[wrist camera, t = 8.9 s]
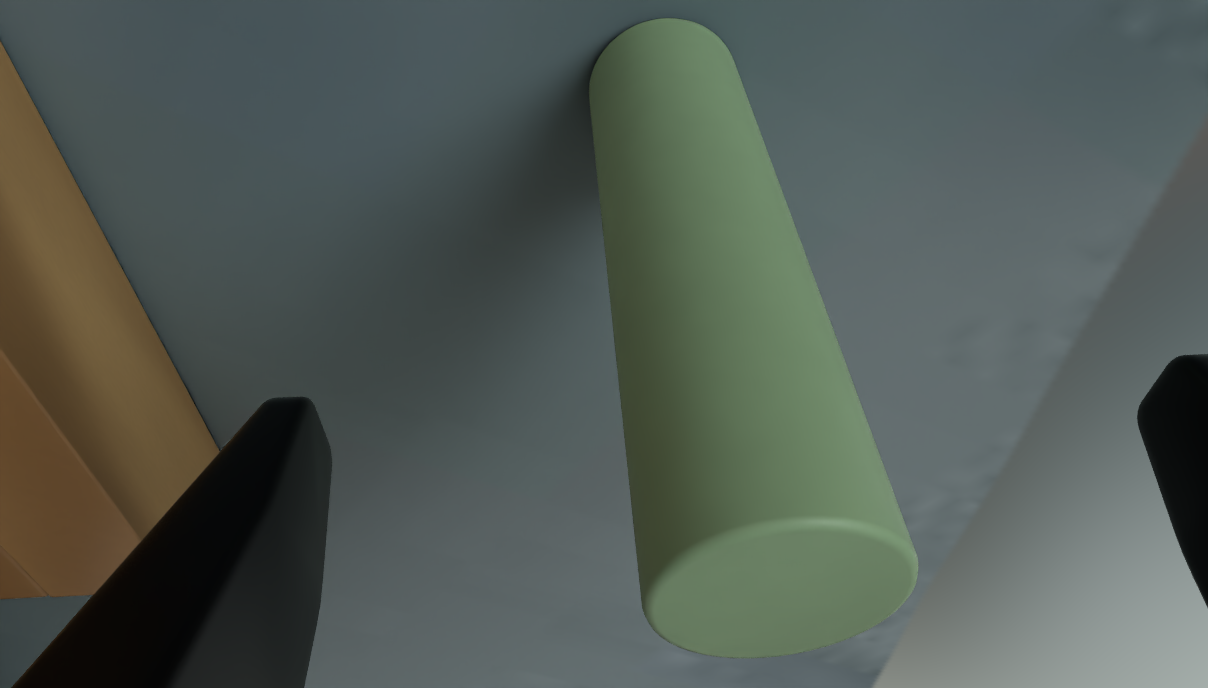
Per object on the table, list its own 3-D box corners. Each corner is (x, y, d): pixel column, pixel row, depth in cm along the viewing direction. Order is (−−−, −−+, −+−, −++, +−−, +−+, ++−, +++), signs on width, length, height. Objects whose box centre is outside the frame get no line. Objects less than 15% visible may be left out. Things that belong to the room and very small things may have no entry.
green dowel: (589, 154, 14) (638, 670, 8) (587, 17, 13) (648, 534, 6) (727, 149, 14) (883, 654, 8) (744, 13, 13) (959, 516, 6)
